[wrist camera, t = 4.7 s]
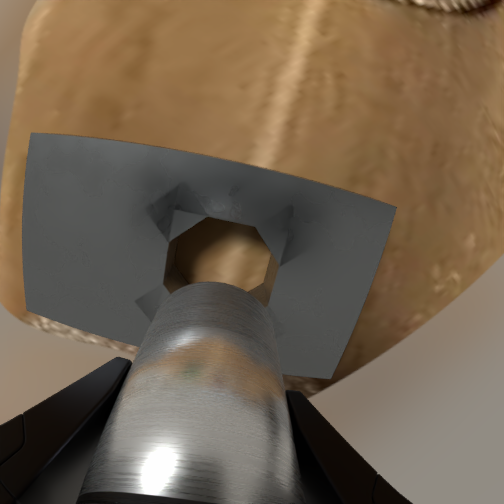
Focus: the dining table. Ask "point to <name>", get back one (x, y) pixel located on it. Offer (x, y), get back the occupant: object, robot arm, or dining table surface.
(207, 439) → the metal cylinder peg
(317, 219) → the jig
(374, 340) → the dining table surface
